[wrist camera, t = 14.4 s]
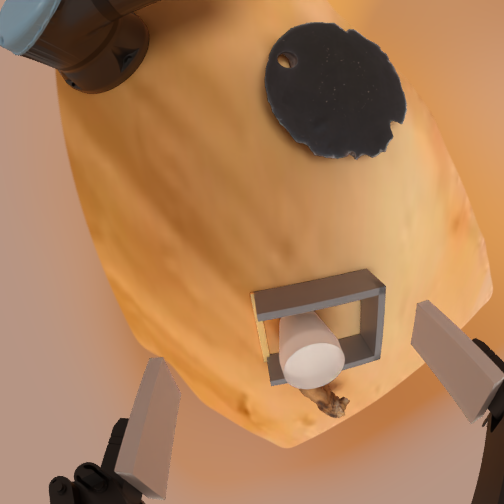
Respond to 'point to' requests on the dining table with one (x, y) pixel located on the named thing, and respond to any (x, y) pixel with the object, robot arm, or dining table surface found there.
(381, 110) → the board
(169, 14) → the dining table surface
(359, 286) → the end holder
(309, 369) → the cup
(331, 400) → the lion figurine
